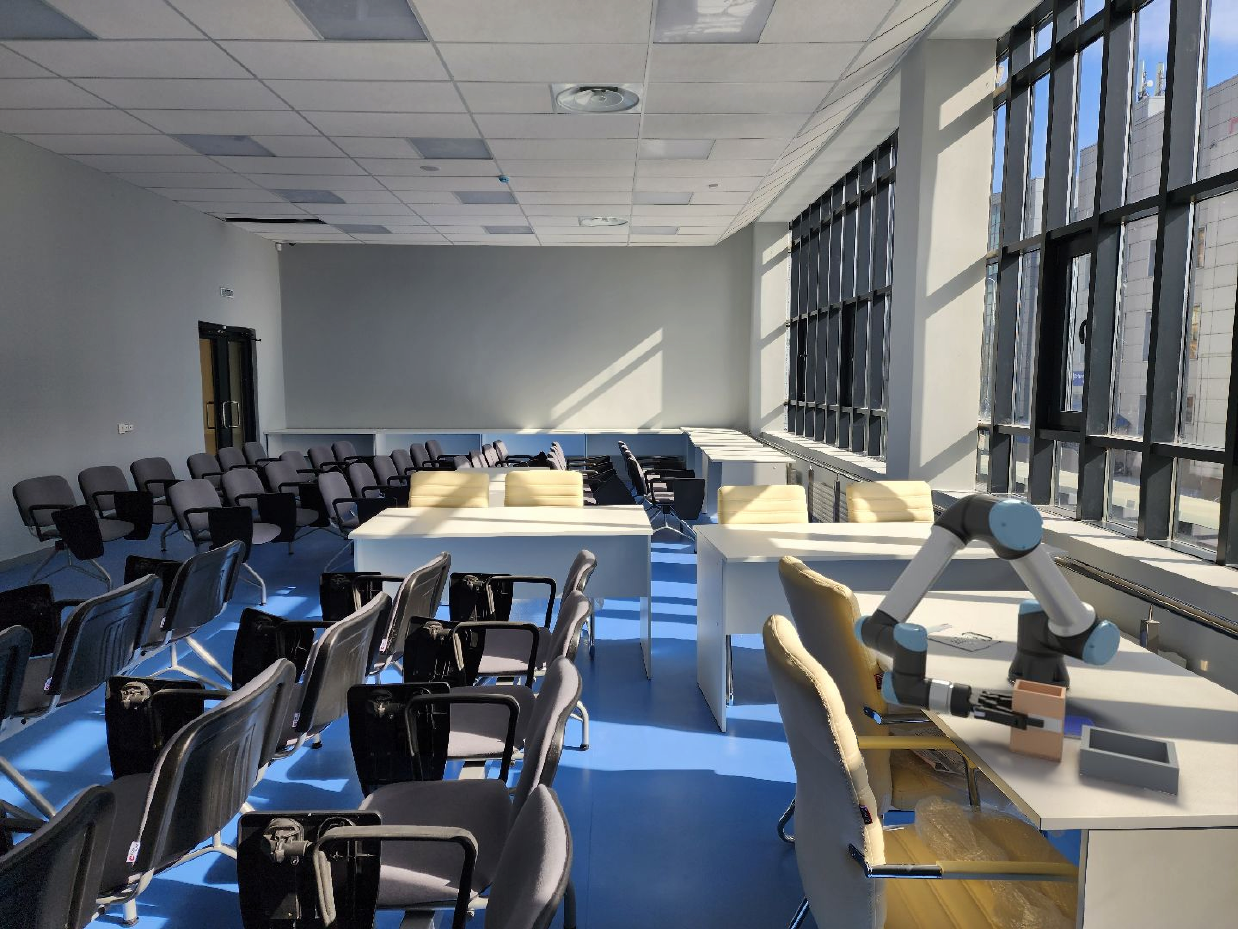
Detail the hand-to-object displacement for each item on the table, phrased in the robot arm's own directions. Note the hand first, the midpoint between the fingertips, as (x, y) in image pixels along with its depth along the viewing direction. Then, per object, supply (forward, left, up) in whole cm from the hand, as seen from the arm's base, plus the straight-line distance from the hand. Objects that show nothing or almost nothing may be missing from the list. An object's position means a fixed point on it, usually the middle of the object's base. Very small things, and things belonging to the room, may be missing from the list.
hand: (1062, 719), depth 178 cm
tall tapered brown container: (0, -5, -8) cm, 9 cm away
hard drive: (-19, +3, -9) cm, 21 cm away
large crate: (+1, +12, -8) cm, 15 cm away
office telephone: (-84, -34, -9) cm, 91 cm away
